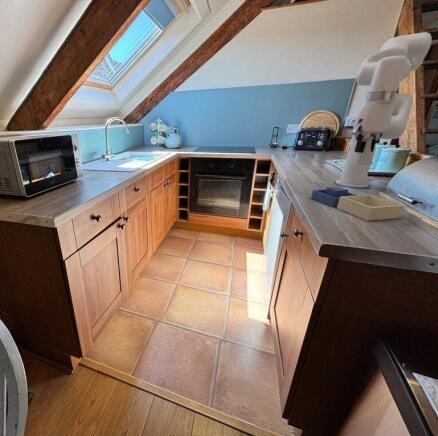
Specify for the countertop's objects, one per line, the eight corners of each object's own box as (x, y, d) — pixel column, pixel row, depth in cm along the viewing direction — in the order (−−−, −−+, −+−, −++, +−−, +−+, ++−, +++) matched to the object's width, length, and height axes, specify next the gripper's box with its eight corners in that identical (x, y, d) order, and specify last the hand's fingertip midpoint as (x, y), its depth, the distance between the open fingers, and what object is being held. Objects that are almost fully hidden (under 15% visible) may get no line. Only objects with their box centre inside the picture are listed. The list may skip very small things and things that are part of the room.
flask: (363, 162, 96) (371, 136, 93) (376, 165, 90) (386, 137, 86) (343, 162, 97) (351, 136, 93) (355, 165, 91) (364, 137, 87)
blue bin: (334, 196, 104) (336, 188, 103) (358, 205, 94) (361, 196, 93) (310, 198, 103) (312, 190, 102) (332, 207, 93) (335, 198, 92)
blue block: (334, 198, 101) (337, 186, 99) (344, 201, 96) (348, 189, 94) (323, 198, 100) (326, 187, 98) (333, 202, 96) (337, 190, 94)
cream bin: (365, 206, 93) (369, 194, 91) (399, 218, 82) (404, 205, 80) (336, 208, 92) (340, 196, 90) (367, 220, 81) (372, 207, 79)
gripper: (389, 99, 89) (373, 150, 96) (349, 99, 88) (335, 151, 94) (412, 97, 82) (392, 152, 89) (369, 97, 81) (352, 153, 88)
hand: (363, 151), depth 92 cm, fingers closed on flask, 3 cm apart
